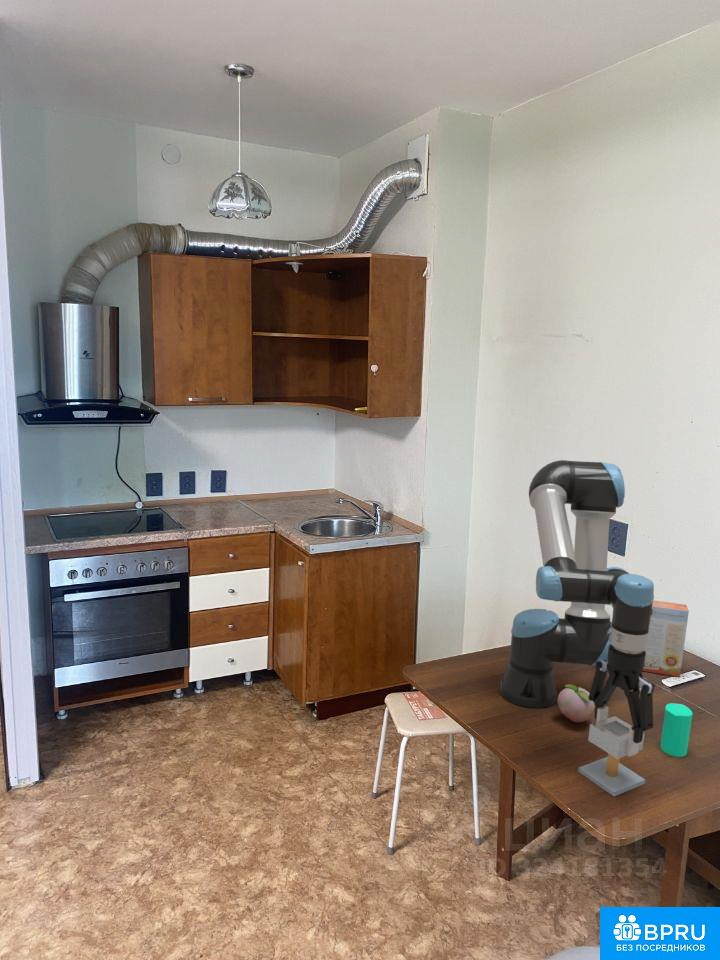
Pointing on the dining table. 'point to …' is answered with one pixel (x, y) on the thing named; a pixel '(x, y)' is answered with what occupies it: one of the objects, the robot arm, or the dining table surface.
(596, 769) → the keeper
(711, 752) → the dining table surface
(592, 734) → the gray square frame
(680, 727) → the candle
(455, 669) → the dining table surface
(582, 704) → the decorative fruit
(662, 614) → the cracker box
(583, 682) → the dining table surface
